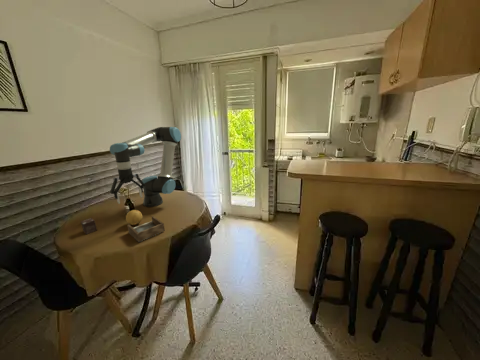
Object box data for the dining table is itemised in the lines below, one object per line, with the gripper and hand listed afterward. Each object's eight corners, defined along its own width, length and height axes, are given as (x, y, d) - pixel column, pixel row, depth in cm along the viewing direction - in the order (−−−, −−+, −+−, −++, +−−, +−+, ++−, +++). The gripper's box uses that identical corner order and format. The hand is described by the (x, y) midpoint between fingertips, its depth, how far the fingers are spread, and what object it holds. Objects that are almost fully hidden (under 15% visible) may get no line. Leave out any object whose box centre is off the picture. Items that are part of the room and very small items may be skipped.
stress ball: (125, 227, 134) (127, 223, 127) (124, 213, 138) (125, 208, 130) (142, 225, 140) (144, 221, 133) (140, 212, 144) (142, 207, 136)
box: (94, 227, 134) (91, 217, 131) (97, 230, 130) (94, 220, 128) (83, 231, 129) (80, 221, 127) (86, 234, 125) (83, 224, 123)
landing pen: (153, 223, 138) (152, 215, 136) (164, 231, 127) (163, 223, 125) (128, 232, 127) (127, 224, 125) (138, 242, 116) (137, 234, 114)
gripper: (142, 164, 136) (147, 193, 142) (99, 171, 119) (107, 204, 125) (147, 165, 131) (152, 196, 137) (103, 173, 114) (110, 207, 120)
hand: (130, 200), depth 131 cm, fingers open, 13 cm apart
